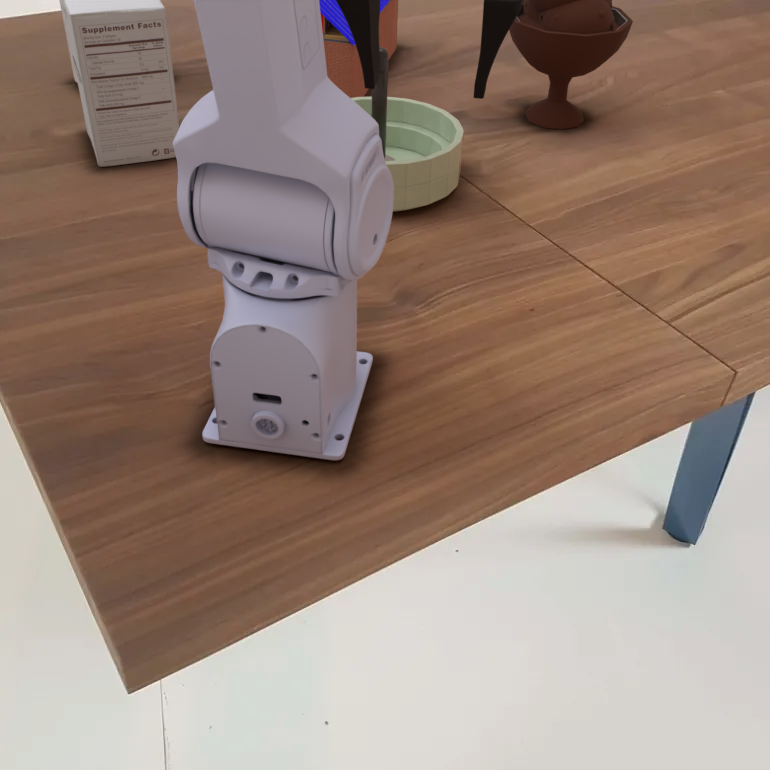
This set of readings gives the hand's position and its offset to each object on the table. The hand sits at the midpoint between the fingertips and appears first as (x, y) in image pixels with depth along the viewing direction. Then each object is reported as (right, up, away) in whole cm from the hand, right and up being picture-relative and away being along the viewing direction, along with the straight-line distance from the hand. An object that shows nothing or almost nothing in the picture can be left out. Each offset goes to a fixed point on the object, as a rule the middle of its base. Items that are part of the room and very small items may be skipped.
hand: (425, 88), depth 65 cm
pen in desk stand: (-3, -4, +10) cm, 12 cm away
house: (-9, +11, +30) cm, 33 cm away
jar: (-29, +9, +27) cm, 41 cm away
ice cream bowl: (+13, +4, +23) cm, 27 cm away
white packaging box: (-25, 0, +15) cm, 29 cm away
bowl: (-3, -4, +12) cm, 13 cm away
